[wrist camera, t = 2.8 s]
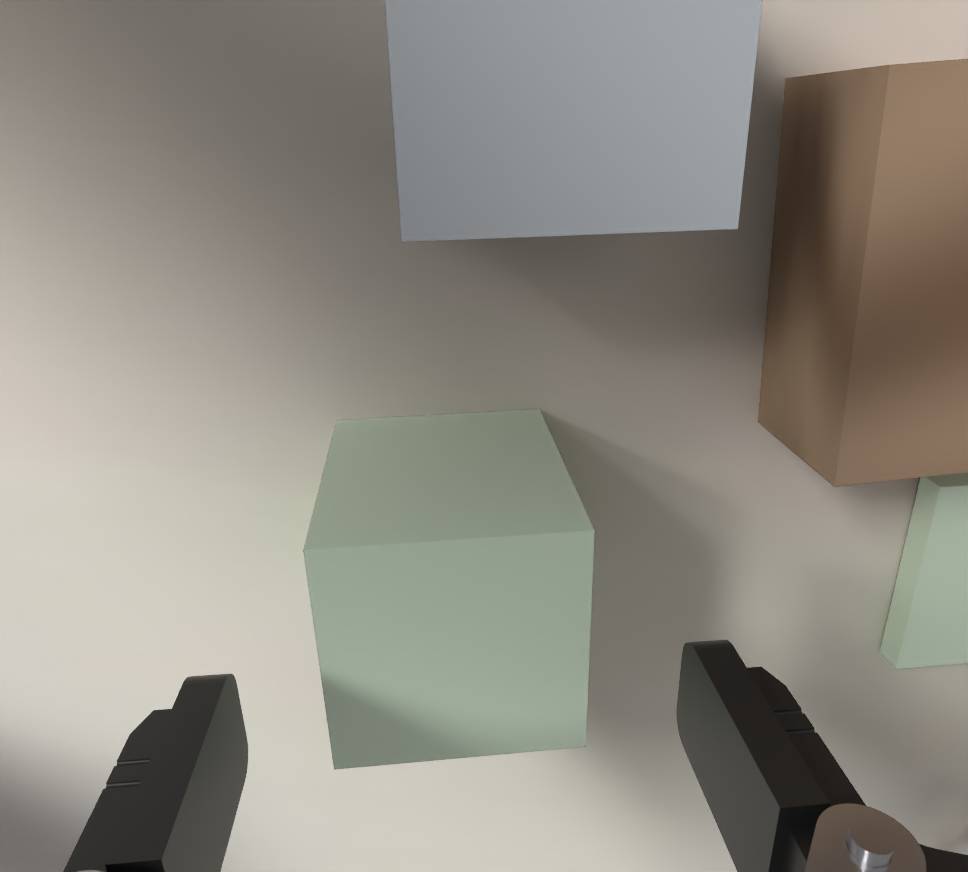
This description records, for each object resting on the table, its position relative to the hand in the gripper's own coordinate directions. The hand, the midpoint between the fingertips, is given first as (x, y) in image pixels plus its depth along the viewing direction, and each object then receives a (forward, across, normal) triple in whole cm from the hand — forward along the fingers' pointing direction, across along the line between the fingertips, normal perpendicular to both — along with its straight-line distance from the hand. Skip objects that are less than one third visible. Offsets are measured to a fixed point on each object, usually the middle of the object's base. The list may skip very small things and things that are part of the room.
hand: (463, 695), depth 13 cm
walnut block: (+7, -12, -6) cm, 15 cm away
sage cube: (+7, 0, 0) cm, 7 cm away
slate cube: (+6, -2, -10) cm, 12 cm away
